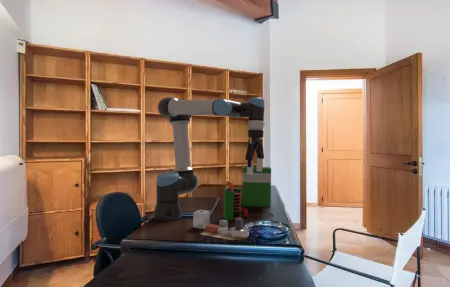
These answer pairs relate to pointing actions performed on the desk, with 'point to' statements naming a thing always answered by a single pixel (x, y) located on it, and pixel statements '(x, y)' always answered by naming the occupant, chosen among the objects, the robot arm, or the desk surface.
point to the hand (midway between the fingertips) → (254, 172)
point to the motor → (232, 202)
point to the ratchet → (230, 230)
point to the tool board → (218, 235)
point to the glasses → (248, 211)
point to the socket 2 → (223, 223)
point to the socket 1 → (201, 219)
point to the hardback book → (257, 187)
